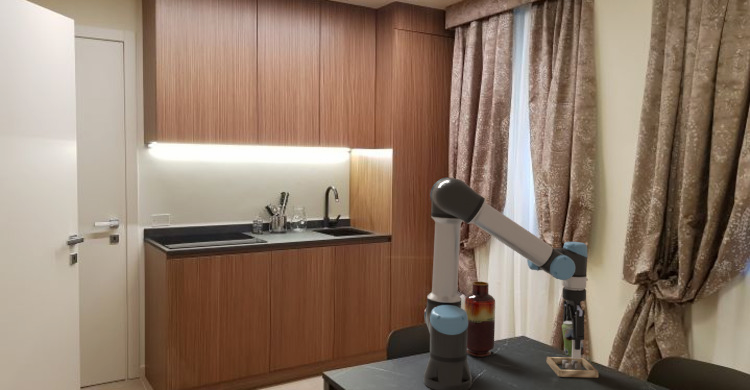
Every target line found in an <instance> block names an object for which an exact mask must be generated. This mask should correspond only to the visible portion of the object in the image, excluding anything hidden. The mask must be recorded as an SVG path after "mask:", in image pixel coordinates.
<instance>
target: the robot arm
mask: <svg viewBox="0 0 750 390" xmlns="http://www.w3.org/2000/svg"><path fill="white" fill-rule="evenodd" d="M429 198H430V201H431V211H430V212H431V214H430V217H431V219H432V220H433V221H434V223H435V224H434V238H433V239H434V241H433V261H432V262H433V265H432V283H431V284H432V286H431V287H432V288H431V292H430V293H429V294H427V297H426V308H425V311H424V321H425V322H424V323H425V324H426V326H427V329H428V332H429V358H428V360H427V365H426V367H425V370H424V373H423V383H424V385H425V386H426V387H428V388H429V389H432V390H469V389H470V388H471V387H472V385H473V377H472V374H471V371H470V366H469V363H468V360H467V359H468V358H467V357H468V354H467V349H468V348H467V331H468V316H467V313H466V311H465V309H463V308H462V297H461V296H460V295H459V294H458V287H459V285H458V284H459V264H460V247H461V246H460V245H461V228H462V227H461V225H462V223H463V222H464V223H465V224H467V225H469V224H473V225H475V227H478V228H479V229H481V230H483V232H485V233H487V234H488V235H490V236H492V237H493V238H494V239H496V240H498V241H499V242H501V243H502V244H503V245H505V246H507V248H510V249H511V250H513V251H514V252H515V253H517V254H519V255H520V256H522V257H523V258H525V259H526V260H527V265H528V268H529V270H532V271H537V272H538V271H543V272H545V273H546V274H549V275H551V276H552V277H553V278H555V279H557V280H559V281H562V287H563V288H562V295H561V296H562V299H563V300H564V301H563V315H562V323H563V322H564V321H571V320H572V326H573V338H571V339H572V359H581V358H582V356H581V340H583V341H585V313H586V311H585V309H583V307H582V304H581V303H582V302H584V301H586V299H587V290H586V288H587V281H589V279H588V278H587V275H588V274H587V272H588V271H587V270H588V269H587V267H588V258H589V257H588V246H587V244H586V243H584V242H581V241H580V242H579V241H565V242H564V244H563V246H562V247H560V248H559V247H558V248H557V247H553V246H552V245H550V244H549V243H547V242H546V241H543V239H541V238H540V237H538V236H536V235H535V234H533V233H532V232H530V231H528V230H527V229H525V228H524V227H523V226H521V225H520V224H518V223H517V222H515V221H513V220H512V219H511V218H510V217H508V216H506V215H505V214H504V213H502V212H500V211H499V210H497V209H496V208H494V207H493V206H492V205H490V204H489V203H487V200H486V198H485V197H483V196H482V195H481V194H479V193H477V191H475V190H474V189H473V188H472V187H471V186H470V185H468V184H467V182H465V181H463V180H461V179H459V178H455V177H444V178H441V179H439V180H438V181H436V182H435V183H434V184H433V185H432V188H431V190H430V197H429ZM564 352H565V346H564Z"/></svg>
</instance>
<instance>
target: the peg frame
mask: <svg viewBox="0 0 750 390" xmlns="http://www.w3.org/2000/svg"><path fill="white" fill-rule="evenodd" d="M546 364H547V365H549V366H548V367H550V368H551V369H552V371H553V372H554V373H555V374H556V376H557V377H563V378H599V370H598V369H597V368H596V367H594V366H593V365H592V364H591V362H589V361H588V360H587V359H586V358H585V357H581V359H572V357H569V356H567V357H565V356H564V357H563V356H546ZM558 364H559V365H561V368H562V369H561V368H560V367H559V366H558ZM582 367H584V368H585V369H582Z"/></svg>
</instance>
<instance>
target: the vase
mask: <svg viewBox="0 0 750 390" xmlns="http://www.w3.org/2000/svg"><path fill="white" fill-rule="evenodd" d="M471 285H472V287H471V289H472V290H471V293H469V294H467V296H466V297H465V298H464V310H465V311H466V313H467V316H468V331H467V355H469V356H471V357H472V356H473V357H476V358H485V357H486V358H487V357H489V356H491V354H492V352H491V350H493V349H494V347H495V331H496V330H495V328H496V327H495V326H496V324H495V323H496V299H495V298H494V296H492V295H491V294H489V293H490V292H489V288H490V287H489V282H486V281H472V284H471Z"/></svg>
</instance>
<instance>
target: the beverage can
mask: <svg viewBox="0 0 750 390" xmlns="http://www.w3.org/2000/svg"><path fill="white" fill-rule="evenodd" d="M561 331H562V337H563V344H564V346H565V351H564V354H565V355H566V356H567V357H572V339H571V338H573V326H572V320H571V321H564V322H563V321H562V325H561ZM583 341H584V340H581V357H582V356H583V355H584V354H585V349H584V342H583Z"/></svg>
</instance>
